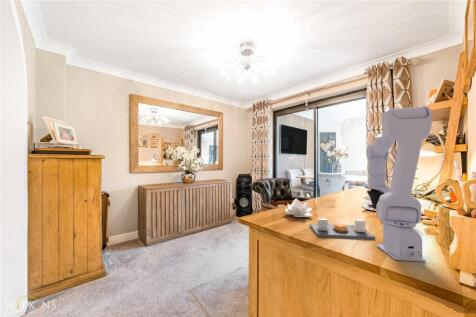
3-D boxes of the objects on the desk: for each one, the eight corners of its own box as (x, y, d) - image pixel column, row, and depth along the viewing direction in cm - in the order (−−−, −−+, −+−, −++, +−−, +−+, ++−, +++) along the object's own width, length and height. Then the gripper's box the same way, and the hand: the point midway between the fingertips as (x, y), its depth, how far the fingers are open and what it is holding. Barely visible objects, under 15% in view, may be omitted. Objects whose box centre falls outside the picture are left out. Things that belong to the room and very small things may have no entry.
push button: (348, 232, 74) (348, 227, 74) (336, 231, 75) (336, 227, 75) (344, 228, 78) (344, 224, 78) (332, 227, 79) (332, 223, 79)
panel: (375, 240, 70) (375, 236, 70) (317, 237, 73) (317, 233, 73) (358, 228, 82) (358, 225, 82) (309, 226, 85) (309, 223, 85)
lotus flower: (314, 214, 104) (314, 197, 104) (312, 222, 91) (312, 203, 91) (287, 211, 110) (287, 195, 110) (281, 218, 97) (281, 200, 97)
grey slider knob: (328, 230, 75) (328, 220, 75) (318, 230, 75) (318, 220, 75) (326, 228, 77) (326, 218, 77) (317, 228, 78) (317, 218, 78)
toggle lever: (366, 232, 74) (366, 221, 74) (356, 231, 74) (356, 221, 74) (363, 229, 76) (363, 219, 76) (353, 229, 77) (353, 219, 77)
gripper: (400, 176, 70) (400, 214, 70) (376, 173, 84) (377, 204, 84) (379, 176, 71) (379, 213, 71) (359, 173, 85) (359, 204, 85)
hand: (376, 208), depth 78 cm, fingers closed
